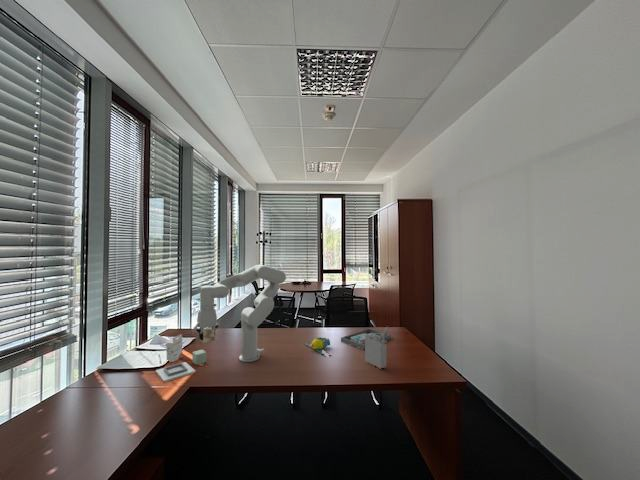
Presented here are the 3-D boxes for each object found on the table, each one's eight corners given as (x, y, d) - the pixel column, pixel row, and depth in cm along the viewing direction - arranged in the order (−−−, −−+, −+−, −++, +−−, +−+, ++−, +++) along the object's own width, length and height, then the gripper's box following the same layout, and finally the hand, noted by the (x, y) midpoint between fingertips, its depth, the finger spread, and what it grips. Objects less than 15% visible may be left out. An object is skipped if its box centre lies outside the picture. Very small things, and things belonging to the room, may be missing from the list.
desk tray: (368, 331, 231) (368, 328, 231) (391, 338, 216) (391, 334, 216) (340, 341, 209) (340, 337, 209) (363, 350, 194) (363, 345, 193)
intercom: (386, 333, 215) (361, 339, 202) (386, 339, 215) (361, 345, 202) (374, 329, 226) (349, 334, 213) (374, 334, 226) (349, 340, 213)
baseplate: (185, 363, 171) (185, 359, 171) (195, 372, 160) (195, 368, 160) (155, 371, 160) (155, 368, 160) (163, 382, 149) (163, 378, 149)
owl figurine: (299, 333, 202) (317, 330, 211) (299, 345, 202) (317, 342, 210) (321, 345, 179) (340, 341, 187) (321, 359, 179) (340, 355, 187)
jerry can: (390, 369, 164) (390, 326, 164) (384, 372, 162) (384, 327, 162) (370, 360, 177) (371, 320, 177) (365, 362, 174) (365, 321, 174)
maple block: (210, 337, 169) (210, 327, 169) (214, 340, 165) (214, 329, 165) (200, 340, 165) (200, 329, 165) (204, 342, 161) (204, 332, 161)
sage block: (202, 359, 178) (202, 349, 178) (206, 362, 174) (206, 352, 174) (192, 361, 174) (192, 351, 174) (196, 364, 170) (196, 354, 170)
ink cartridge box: (175, 356, 182) (175, 333, 182) (182, 356, 181) (182, 333, 181) (165, 361, 174) (166, 337, 174) (173, 362, 173) (173, 338, 173)
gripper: (218, 303, 174) (219, 333, 174) (189, 308, 162) (189, 340, 162) (224, 306, 168) (224, 336, 168) (194, 311, 156) (194, 344, 157)
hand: (207, 338), depth 165 cm, fingers closed on maple block, 6 cm apart
